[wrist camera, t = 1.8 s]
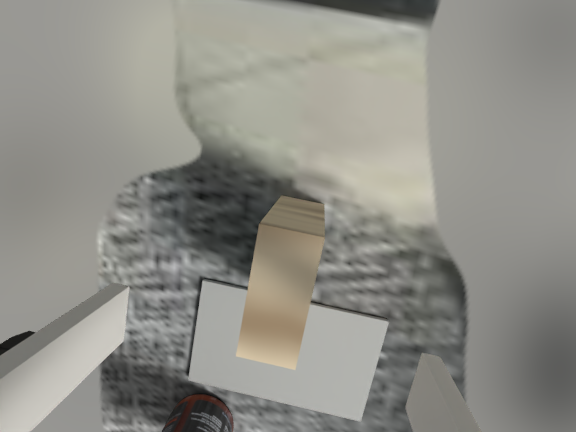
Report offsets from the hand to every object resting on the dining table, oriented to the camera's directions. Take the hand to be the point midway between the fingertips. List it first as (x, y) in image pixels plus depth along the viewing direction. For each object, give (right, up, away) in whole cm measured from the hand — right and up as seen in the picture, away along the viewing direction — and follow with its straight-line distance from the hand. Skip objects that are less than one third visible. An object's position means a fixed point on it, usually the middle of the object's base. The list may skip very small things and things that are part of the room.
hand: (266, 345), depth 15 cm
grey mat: (+1, -6, +15) cm, 17 cm away
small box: (+1, +3, +13) cm, 14 cm away
